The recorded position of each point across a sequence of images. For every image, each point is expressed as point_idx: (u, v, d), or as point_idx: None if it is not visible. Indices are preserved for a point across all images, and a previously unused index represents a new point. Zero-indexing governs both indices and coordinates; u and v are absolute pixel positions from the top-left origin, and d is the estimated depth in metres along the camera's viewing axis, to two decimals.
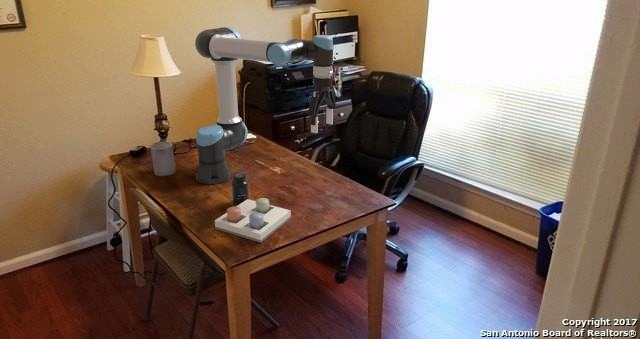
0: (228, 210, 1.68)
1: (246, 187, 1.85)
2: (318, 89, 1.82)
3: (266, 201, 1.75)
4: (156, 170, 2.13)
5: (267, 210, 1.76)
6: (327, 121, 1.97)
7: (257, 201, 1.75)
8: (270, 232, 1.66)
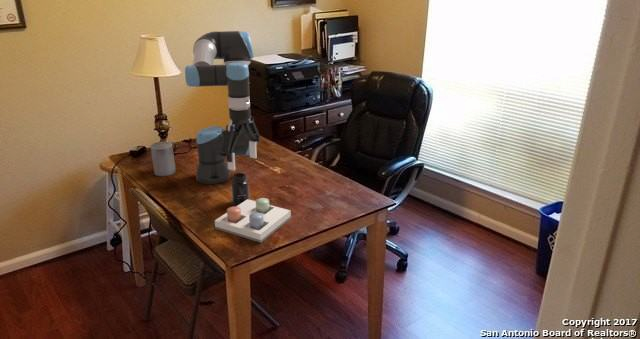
0: (228, 210, 1.68)
1: (246, 187, 1.85)
2: (234, 122, 1.63)
3: (266, 201, 1.75)
4: (156, 170, 2.13)
5: (267, 210, 1.76)
6: (250, 155, 1.78)
7: (257, 201, 1.75)
8: (270, 232, 1.66)
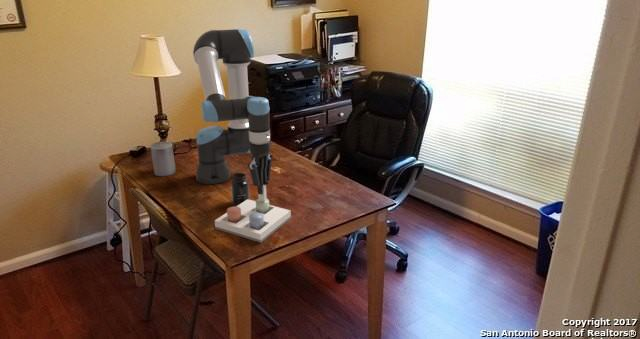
0: (228, 210, 1.68)
1: (246, 187, 1.85)
2: (254, 156, 1.65)
3: (266, 201, 1.75)
4: (156, 170, 2.13)
5: (267, 210, 1.76)
6: None
7: (257, 201, 1.75)
8: (270, 232, 1.66)
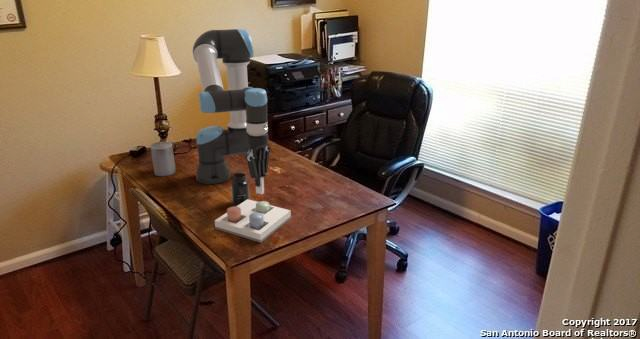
0: (228, 210, 1.68)
1: (246, 187, 1.85)
2: (252, 147, 1.64)
3: (266, 204, 1.76)
4: (156, 170, 2.13)
5: None
6: None
7: (257, 204, 1.76)
8: (270, 232, 1.66)
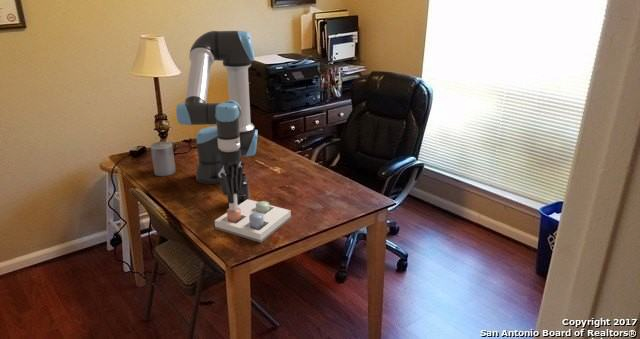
0: (228, 210, 1.69)
1: (246, 187, 1.85)
2: (223, 164, 1.59)
3: (266, 204, 1.76)
4: (156, 170, 2.13)
5: None
6: None
7: (257, 204, 1.76)
8: (270, 232, 1.66)
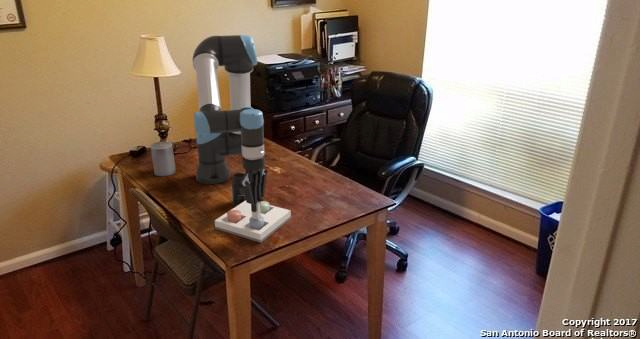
0: (228, 213, 1.69)
1: None
2: (247, 172, 1.55)
3: (266, 204, 1.76)
4: (156, 170, 2.13)
5: None
6: None
7: None
8: (270, 232, 1.66)
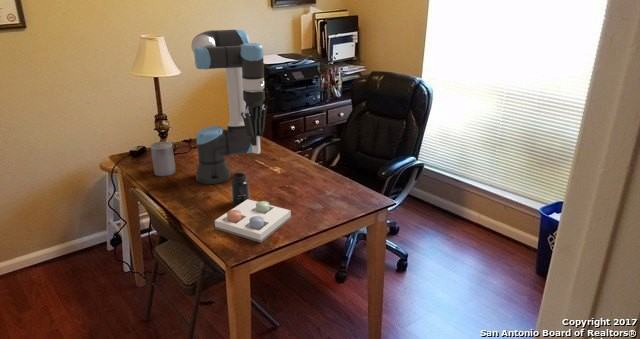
0: (228, 213, 1.69)
1: (246, 187, 1.85)
2: (248, 104, 1.61)
3: (266, 204, 1.76)
4: (156, 170, 2.13)
5: None
6: None
7: (257, 204, 1.76)
8: (270, 232, 1.66)
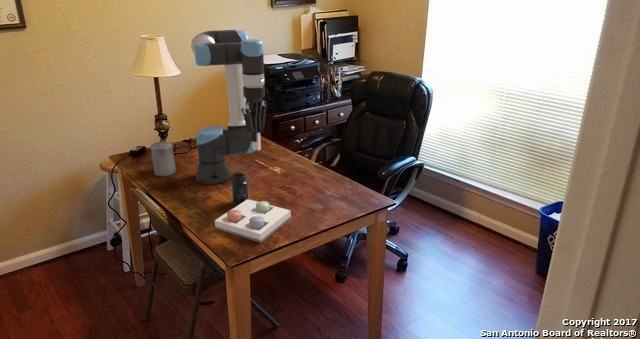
0: (228, 213, 1.69)
1: (246, 187, 1.85)
2: (248, 100, 1.61)
3: (266, 204, 1.76)
4: (156, 170, 2.13)
5: None
6: None
7: (257, 204, 1.76)
8: (270, 232, 1.66)
